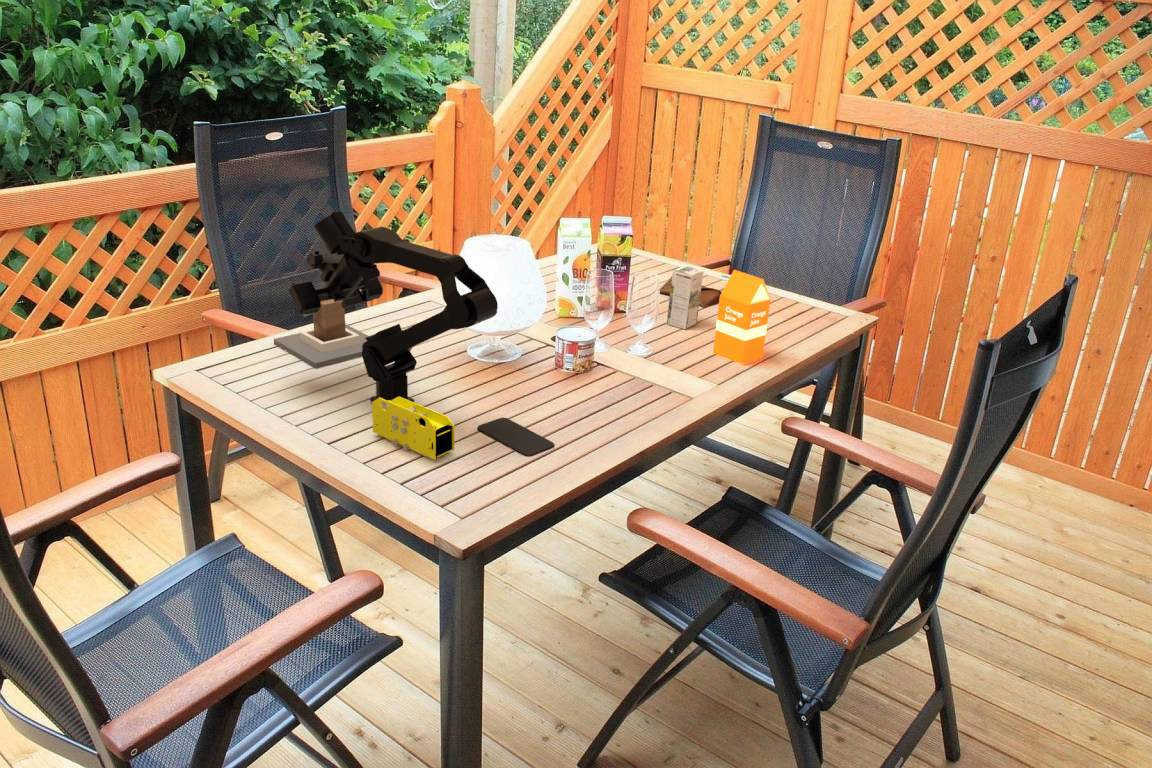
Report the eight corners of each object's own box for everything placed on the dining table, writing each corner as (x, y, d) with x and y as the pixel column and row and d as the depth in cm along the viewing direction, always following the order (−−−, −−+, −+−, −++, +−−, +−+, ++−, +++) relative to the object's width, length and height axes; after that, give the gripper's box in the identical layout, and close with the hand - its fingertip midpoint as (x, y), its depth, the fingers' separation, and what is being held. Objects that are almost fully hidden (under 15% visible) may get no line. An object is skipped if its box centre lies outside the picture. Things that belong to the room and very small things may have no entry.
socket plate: (387, 350, 217) (386, 336, 216) (315, 368, 205) (315, 354, 204) (343, 327, 228) (343, 315, 227) (274, 343, 217) (273, 330, 215)
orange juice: (741, 365, 220) (752, 281, 212) (712, 353, 226) (722, 271, 218) (763, 358, 225) (774, 276, 217) (734, 347, 231) (744, 266, 223)
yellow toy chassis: (371, 436, 178) (369, 395, 174) (394, 427, 182) (393, 386, 179) (432, 464, 169) (432, 422, 166) (455, 454, 173) (455, 412, 170)
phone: (527, 456, 173) (474, 426, 182) (527, 460, 173) (474, 430, 183) (557, 444, 178) (504, 416, 187) (557, 448, 178) (504, 420, 188)
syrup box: (677, 319, 247) (683, 264, 242) (697, 324, 244) (703, 269, 238) (666, 324, 243) (671, 269, 237) (686, 330, 240) (692, 274, 234)
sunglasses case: (652, 292, 267) (661, 270, 267) (664, 300, 273) (673, 278, 273) (706, 308, 257) (715, 285, 257) (717, 316, 262) (726, 293, 262)
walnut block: (346, 342, 216) (344, 300, 212) (326, 347, 213) (324, 304, 209) (334, 336, 219) (332, 294, 215) (314, 341, 216) (312, 298, 212)
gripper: (373, 230, 195) (346, 269, 206) (290, 243, 182) (265, 284, 194) (397, 277, 193) (368, 314, 204) (314, 294, 181) (288, 332, 192)
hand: (323, 310), depth 199 cm, fingers open, 9 cm apart
